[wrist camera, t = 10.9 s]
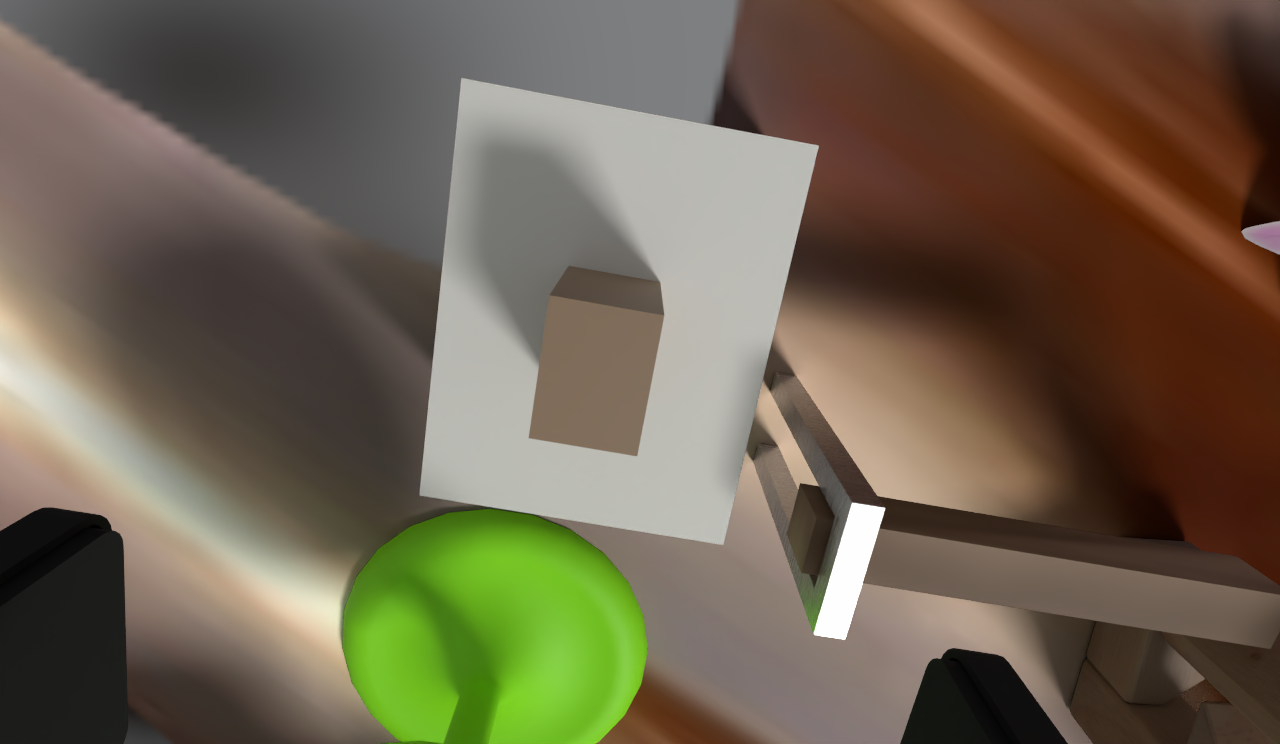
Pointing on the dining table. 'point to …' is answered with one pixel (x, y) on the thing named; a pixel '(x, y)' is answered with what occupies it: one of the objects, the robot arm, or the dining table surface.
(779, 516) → the toolbox
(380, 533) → the dining table surface
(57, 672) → the robot arm
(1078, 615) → the tan bar
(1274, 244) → the lily
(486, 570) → the wineglass
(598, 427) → the lid
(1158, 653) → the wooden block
